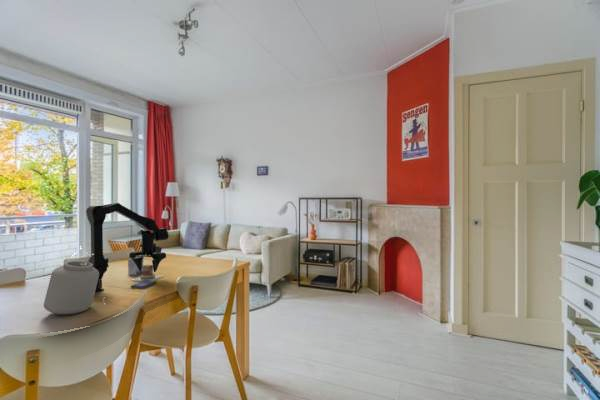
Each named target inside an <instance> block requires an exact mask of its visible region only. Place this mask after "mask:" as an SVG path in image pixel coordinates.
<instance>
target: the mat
mask: <svg viewBox="0 0 600 400" xmlns="http://www.w3.org/2000/svg"><path fill="white" fill-rule="evenodd" d="M164 277H165V276H164V275H159V274H158V275H157V274H155V277H153V278H151V279H140V276H139V277H136V278H133V279H130V282H137V283H139V282H142V281H145V280H146V281H156V280H158V279H162V278H164Z"/></svg>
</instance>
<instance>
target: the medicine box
mask: <svg viewBox="0 0 600 400" xmlns="http://www.w3.org/2000/svg"><path fill="white" fill-rule="evenodd" d="M131 259H132V258H128V260H127V267H128V268H127V272H128V274H127V275H129V276H132V275H133V276H134V275H135V276H136V275H138V274H141V273H143V266H144V258H143V259H142V270H141V271H139V269H138V267H137V266H136V264H135V263H134V261H133V260H131Z"/></svg>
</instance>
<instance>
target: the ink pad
mask: <svg viewBox="0 0 600 400" xmlns="http://www.w3.org/2000/svg"><path fill="white" fill-rule="evenodd" d="M157 282H158V281H156V280H154V281H146V280H145V281H142V282H137V283H134V284H132V285H130V288H131V289H137V290H138V289H140V290H144V289H147V288H149V287H152V286H154V285H157Z"/></svg>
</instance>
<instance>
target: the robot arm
mask: <svg viewBox="0 0 600 400" xmlns="http://www.w3.org/2000/svg"><path fill="white" fill-rule="evenodd" d="M85 213H86V216H87V218H86V219H87V220H88V222H89V224H90V256H91V257H89V260H88V262H89V263H92V264H93V268H95V269H97V270H98V271H99V278H98V282H97V286H96V290H95V294H96V293H99V292H102V291H104V290H105V288H103V280H102V279H103V277H104V275H105V273H106V272H107V271H108V268H109V258H108V257H105V256H104V243H103V242H104V239H103V236H104V235H103V233H104V232H103V231H104V230H103V227H104V226H103V224H104V222H105V220H106V215H109V214H112V213H117V214H118V215H121V216H122V217H125V218H126V219H129V220H130V221H132V222H134V223H135V224H136V226H139V228H141V229H140V230H139V231H138V232H137V235H141V243H140V245H139V247H140V248H141V250H137V251H132V252H130V253H129V258H128V259H131V260H133V261H134V263H135V264H136V266H137V267H138V269H139V271H141V270H142V259H143V260H144V258H152V260H151V262H152V263H151V265H153V273H156V272H157V270H158V268H159V265H160V263H161V261H162V260H164V259H167V254H166V252H162V250H163V249H162V248H163V247H161V246H157V245H156V243H155V242H159V241H167V240H168V239H169V231H168V230H167V227H161V228H159V227H158V225H157V223H156V220H155V219H154V218H153V219H152V218H150V217H147V216H143V215H141V214H138V213H137V212H135V211H133V210H131V209H129V208H128V207H126V206H124V205H122V204H121V203H120V202H112V203H108V204H103V205H93V204H92V205H90V206H88V207H87V208H86V211H85ZM92 254H93V255H92Z"/></svg>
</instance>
